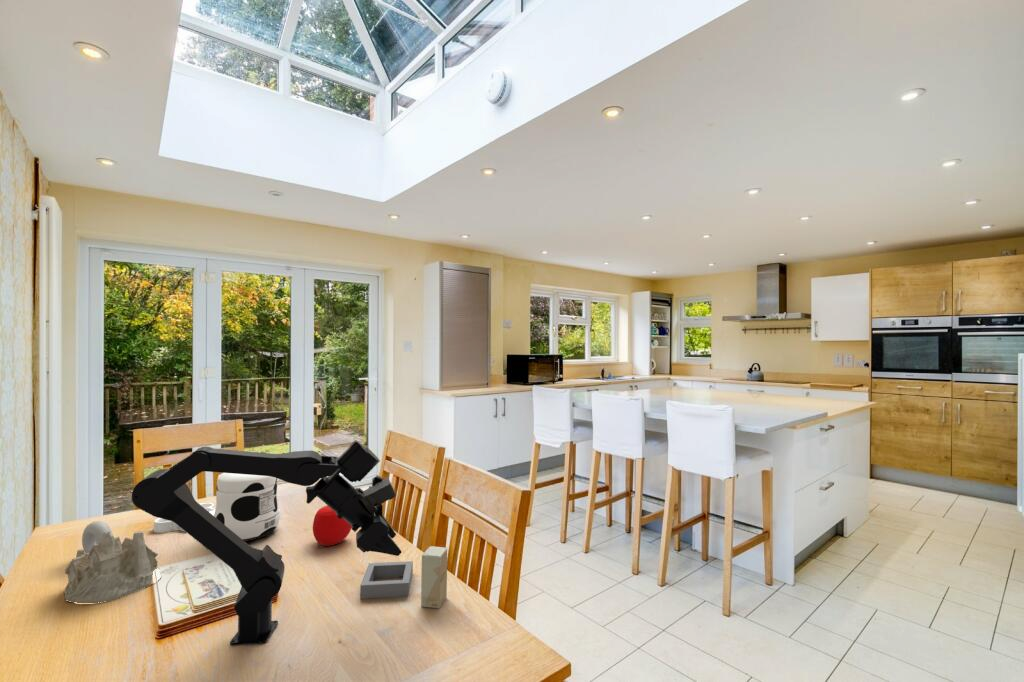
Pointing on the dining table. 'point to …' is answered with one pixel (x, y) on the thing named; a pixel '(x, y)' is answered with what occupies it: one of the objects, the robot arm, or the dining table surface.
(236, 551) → the robot arm
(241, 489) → the milk container
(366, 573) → the block
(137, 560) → the grey castle model
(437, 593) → the box
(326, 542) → the tomato
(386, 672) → the dining table surface
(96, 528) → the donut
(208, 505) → the white dimpled tray
